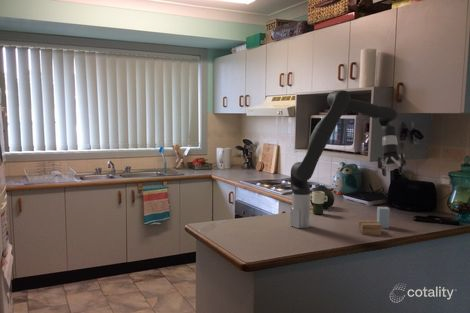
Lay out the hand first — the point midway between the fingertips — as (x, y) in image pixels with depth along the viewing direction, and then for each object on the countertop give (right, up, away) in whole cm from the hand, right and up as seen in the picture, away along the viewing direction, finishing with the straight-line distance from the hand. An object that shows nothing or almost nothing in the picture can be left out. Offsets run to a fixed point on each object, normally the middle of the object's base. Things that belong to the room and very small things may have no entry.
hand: (392, 175), depth 215 cm
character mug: (-34, -24, +26) cm, 49 cm away
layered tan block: (-16, -28, -12) cm, 34 cm away
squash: (-28, -23, +44) cm, 57 cm away
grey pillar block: (-6, -27, -2) cm, 28 cm away
